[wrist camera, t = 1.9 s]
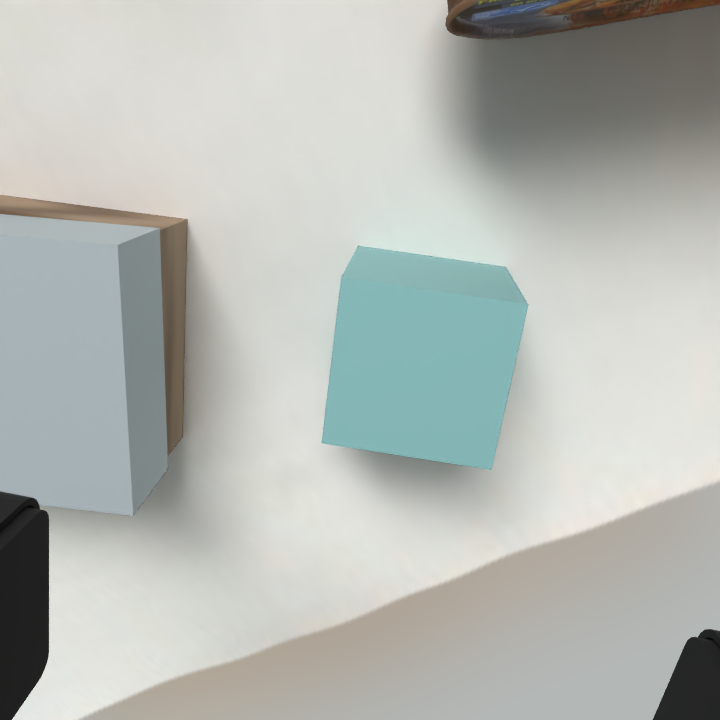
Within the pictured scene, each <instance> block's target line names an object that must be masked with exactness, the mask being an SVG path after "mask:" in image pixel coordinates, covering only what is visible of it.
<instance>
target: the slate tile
mask: <svg viewBox="0 0 720 720" xmlns="http://www.w3.org/2000/svg"><path fill="white" fill-rule="evenodd" d="M167 469H168V453H167V424H166V395H165V367H164V338H163V309H162V280H161V251H160V228H153V227H142V226H131V225H119V224H108V223H97V222H85V221H74V220H63V219H52V218H40V217H29V216H18V215H6V214H0V491H1V492H6V493H12V494H17V495H22V496H27V497H32V498H35V499H36V500H37V501H38V503H39V505H43V506H52V507H60V508H69V509H77V510H86V511H95V512H103V513H112V514H121V515H129V516H134V514H135V513H136V511H137V510H138V509H139V507H140V506H141V505H142V503H143V502H144V501H145V499H146V498H147V497H148V495H149V494H150V492H151V491H152V490H153V488H154V487H155V486H156V484H157V483H158V482H159V480H160V479H161V478H162V476H163V475H164V473H165V472H166V471H167Z"/></svg>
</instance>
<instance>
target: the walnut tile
mask: <svg viewBox="0 0 720 720" xmlns="http://www.w3.org/2000/svg"><path fill="white" fill-rule="evenodd" d="M0 214H6V215H18V216H29V217H40V218H52V219H63V220H74V221H85V222H97V223H108V224H119V225H131V226H142V227H153V228H160V251H161V280H162V309H163V338H164V367H165V395H166V424H167V453H168V455H169V454H170V452H171V451H172V450H173V449H174V447H175V446H176V445H177V443H178V442H179V441H180V439H181V438H182V437H183V399H184V351H185V304H186V257H187V219H181V218H174V217H166V216H158V215H151V214H143V213H135V212H128V211H120V210H112V209H105V208H97V207H89V206H81V205H74V204H66V203H58V202H51V201H43V200H35V199H28V198H20V197H12V196H5V195H0Z"/></svg>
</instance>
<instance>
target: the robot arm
mask: <svg viewBox="0 0 720 720" xmlns="http://www.w3.org/2000/svg"><path fill="white" fill-rule="evenodd" d="M48 654H49V516H48V513H47V512H46V511H44V510H40V508H39V503H38V501H37V500H36V499H35V498H32V497H27V496H22V495H17V494H12V493H6V492H1V491H0V720H12V719H13V717H14V716H15V714H16V713H17V711H18V710H19V708H20V707H21V706H22V704H23V703H24V701H25V700H26V698H27V697H28V695H29V694H30V693H31V691H32V690H33V688H34V687H35V685H36V684H37V682H38V681H39V679H40V678H41V676H42V674H43V671H44V669H45V666H46V664H47V660H48ZM653 720H720V631H717V630H711V629H708V630H704V631H703V632H701V633H700V635H699V636H698V638H697V637H691V638H690V639H689V640H688V641H687V642H686V644H685V646H684V649H683V651H682V653H681V655H680V658H679V660H678V662H677V665H676V667H675V670H674V672H673V674H672V677H671V679H670V681H669V684H668V686H667V688H666V690H665V693H664V695H663V697H662V700H661V702H660V704H659V707H658V709H657V711H656V714H655V716H654V718H653Z"/></svg>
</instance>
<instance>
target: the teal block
mask: <svg viewBox="0 0 720 720" xmlns="http://www.w3.org/2000/svg"><path fill="white" fill-rule="evenodd" d="M527 308H528V303H527V301H526V300H525V298H524V296H523V295H522V293H521V291H520V290H519V288H518V286H517V285H516V283H515V281H514V280H513V278H512V276H511V275H510V273H509V271H508V270H507V268H506V267H502V266H496V265H489V264H482V263H475V262H468V261H461V260H454V259H447V258H440V257H433V256H426V255H419V254H412V253H405V252H398V251H391V250H384V249H377V248H370V247H363V246H358V248H357V249H356V251H355V253H354V255H353V257H352V259H351V260H350V262H349V264H348V266H347V268H346V270H345V271H344V273H343V275H342V277H341V284H340V293H339V301H338V309H337V318H336V326H335V335H334V343H333V351H332V360H331V368H330V377H329V385H328V393H327V402H326V410H325V419H324V427H323V435H322V443H324V444H330V445H336V446H343V447H349V448H355V449H362V450H368V451H374V452H381V453H387V454H394V455H400V456H406V457H413V458H419V459H425V460H432V461H438V462H445V463H451V464H457V465H464V466H470V467H476V468H483V469H489V470H491V469H492V464H493V460H494V455H495V451H496V447H497V442H498V438H499V433H500V429H501V424H502V420H503V415H504V411H505V406H506V402H507V397H508V393H509V389H510V384H511V380H512V375H513V371H514V366H515V362H516V357H517V353H518V348H519V344H520V339H521V335H522V331H523V326H524V322H525V317H526V313H527Z"/></svg>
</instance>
